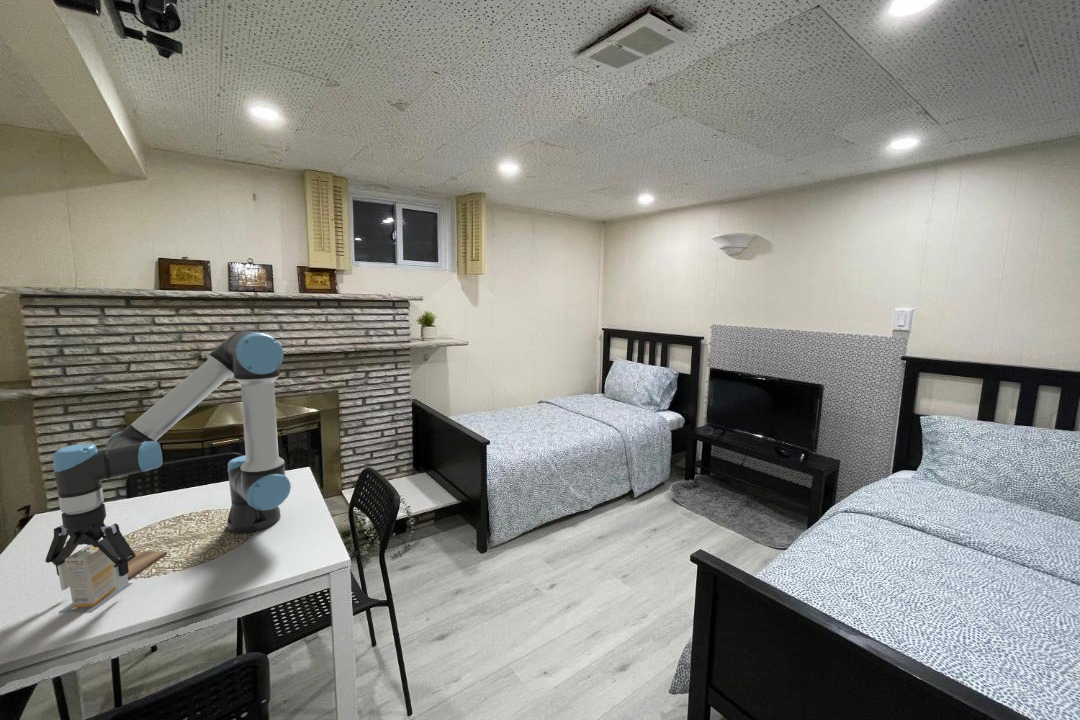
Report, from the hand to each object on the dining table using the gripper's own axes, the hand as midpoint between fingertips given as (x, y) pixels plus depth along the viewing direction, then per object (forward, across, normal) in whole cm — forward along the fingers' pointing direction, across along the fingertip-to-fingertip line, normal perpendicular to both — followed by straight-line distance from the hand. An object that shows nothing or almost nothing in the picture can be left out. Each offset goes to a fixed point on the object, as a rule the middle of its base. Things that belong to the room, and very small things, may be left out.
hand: (95, 586), depth 113 cm
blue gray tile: (+3, 0, 0) cm, 3 cm away
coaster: (+3, +4, -13) cm, 14 cm away
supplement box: (+3, 0, 0) cm, 3 cm away
